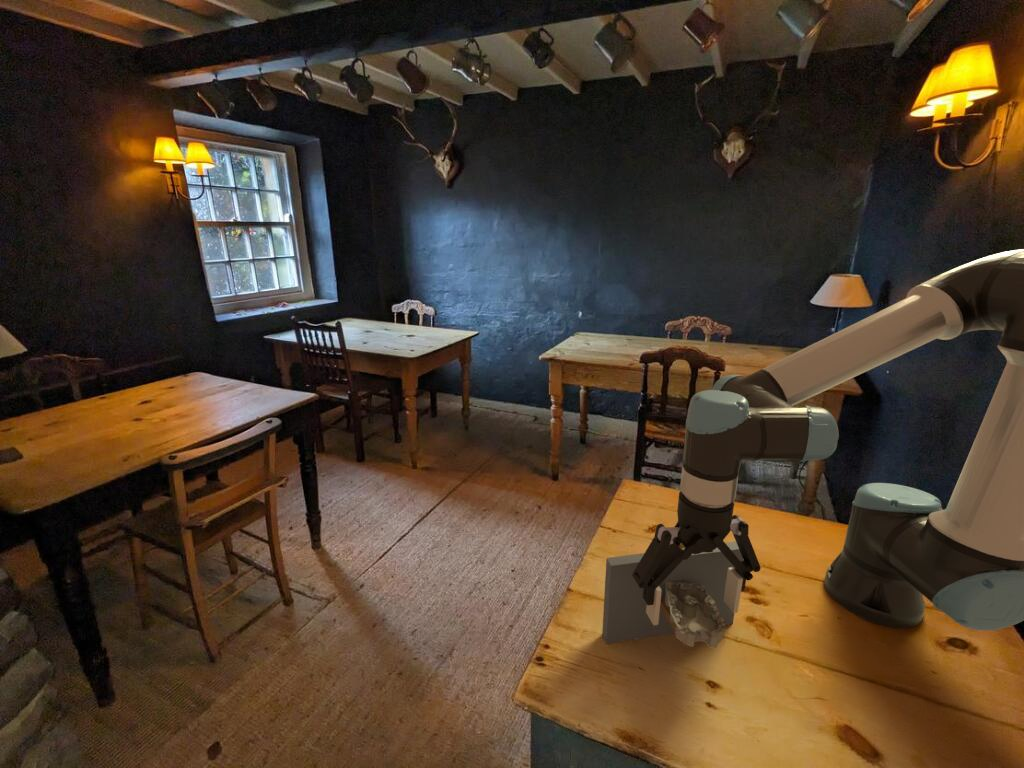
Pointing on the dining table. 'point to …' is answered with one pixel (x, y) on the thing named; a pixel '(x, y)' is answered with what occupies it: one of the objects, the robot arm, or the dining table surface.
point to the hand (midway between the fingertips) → (691, 612)
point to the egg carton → (694, 614)
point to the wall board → (629, 606)
